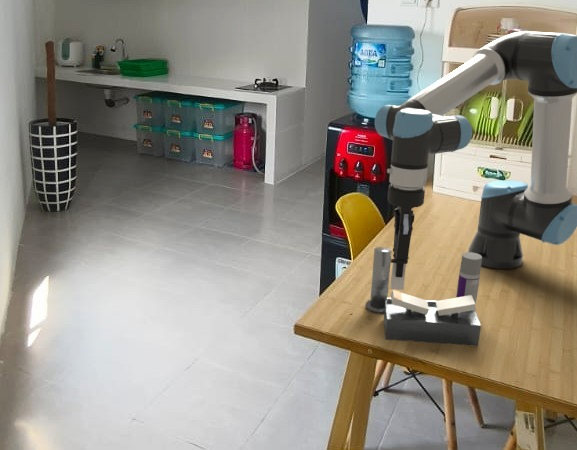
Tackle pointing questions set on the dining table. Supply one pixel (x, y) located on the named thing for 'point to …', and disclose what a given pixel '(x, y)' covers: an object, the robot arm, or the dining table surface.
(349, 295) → the dining table surface
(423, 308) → the paddle
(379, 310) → the post
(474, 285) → the container
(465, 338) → the grey channel rail
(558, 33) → the robot arm
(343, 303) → the dining table surface
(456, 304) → the paddle
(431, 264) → the dining table surface
